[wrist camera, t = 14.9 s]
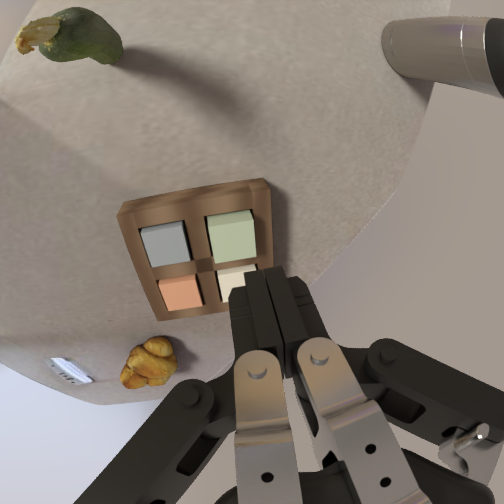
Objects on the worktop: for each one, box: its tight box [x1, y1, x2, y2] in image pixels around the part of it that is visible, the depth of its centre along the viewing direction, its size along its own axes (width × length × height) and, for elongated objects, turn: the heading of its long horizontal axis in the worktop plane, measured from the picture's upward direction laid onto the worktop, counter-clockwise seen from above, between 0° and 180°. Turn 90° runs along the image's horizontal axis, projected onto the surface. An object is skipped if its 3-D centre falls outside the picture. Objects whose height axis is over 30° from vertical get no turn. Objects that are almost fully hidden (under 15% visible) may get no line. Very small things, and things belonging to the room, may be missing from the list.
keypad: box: [117, 178, 274, 321], centre depth 36 cm, size 18×18×4 cm
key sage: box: [207, 209, 256, 264], centre depth 33 cm, size 5×5×3 cm
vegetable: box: [15, 7, 123, 65], centre depth 13 cm, size 4×4×20 cm
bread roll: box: [120, 337, 178, 389], centre depth 46 cm, size 13×10×8 cm
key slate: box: [141, 220, 190, 267], centre depth 33 cm, size 5×5×3 cm
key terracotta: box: [159, 274, 202, 311], centre depth 37 cm, size 5×5×3 cm
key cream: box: [217, 264, 256, 303], centre depth 38 cm, size 5×5×3 cm
